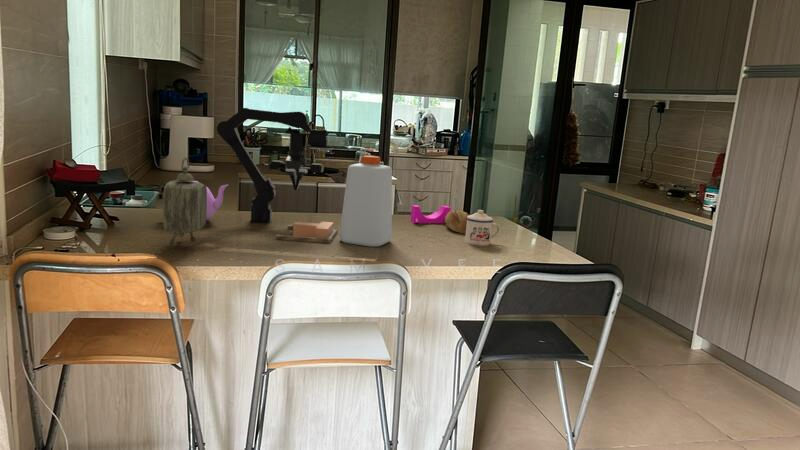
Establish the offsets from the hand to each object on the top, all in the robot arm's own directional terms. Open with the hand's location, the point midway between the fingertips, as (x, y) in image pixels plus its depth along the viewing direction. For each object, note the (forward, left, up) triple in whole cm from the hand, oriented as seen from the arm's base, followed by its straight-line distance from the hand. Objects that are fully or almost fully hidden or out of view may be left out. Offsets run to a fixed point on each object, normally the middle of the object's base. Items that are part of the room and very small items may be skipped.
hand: (295, 190), depth 217 cm
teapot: (-33, -9, -12) cm, 36 cm away
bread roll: (+60, +9, -12) cm, 62 cm away
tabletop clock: (-24, -42, -12) cm, 50 cm away
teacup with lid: (+68, -11, -12) cm, 69 cm away
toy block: (+50, +20, -12) cm, 55 cm away
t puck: (+10, -20, -12) cm, 25 cm away
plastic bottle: (+28, -22, -12) cm, 38 cm away
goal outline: (+9, -20, -12) cm, 25 cm away
